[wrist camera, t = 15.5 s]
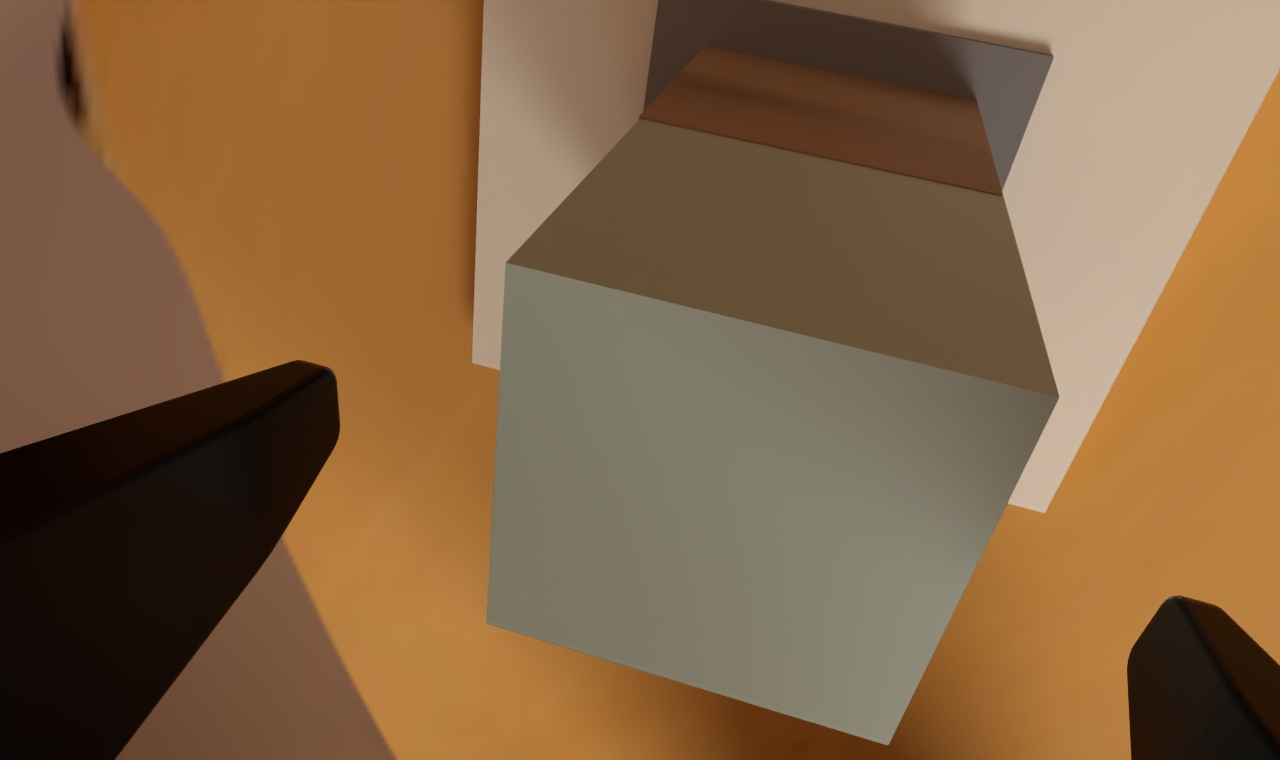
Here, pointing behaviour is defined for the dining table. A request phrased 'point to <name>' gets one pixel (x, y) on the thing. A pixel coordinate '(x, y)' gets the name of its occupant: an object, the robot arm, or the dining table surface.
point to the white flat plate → (935, 61)
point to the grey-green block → (760, 421)
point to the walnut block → (831, 117)
